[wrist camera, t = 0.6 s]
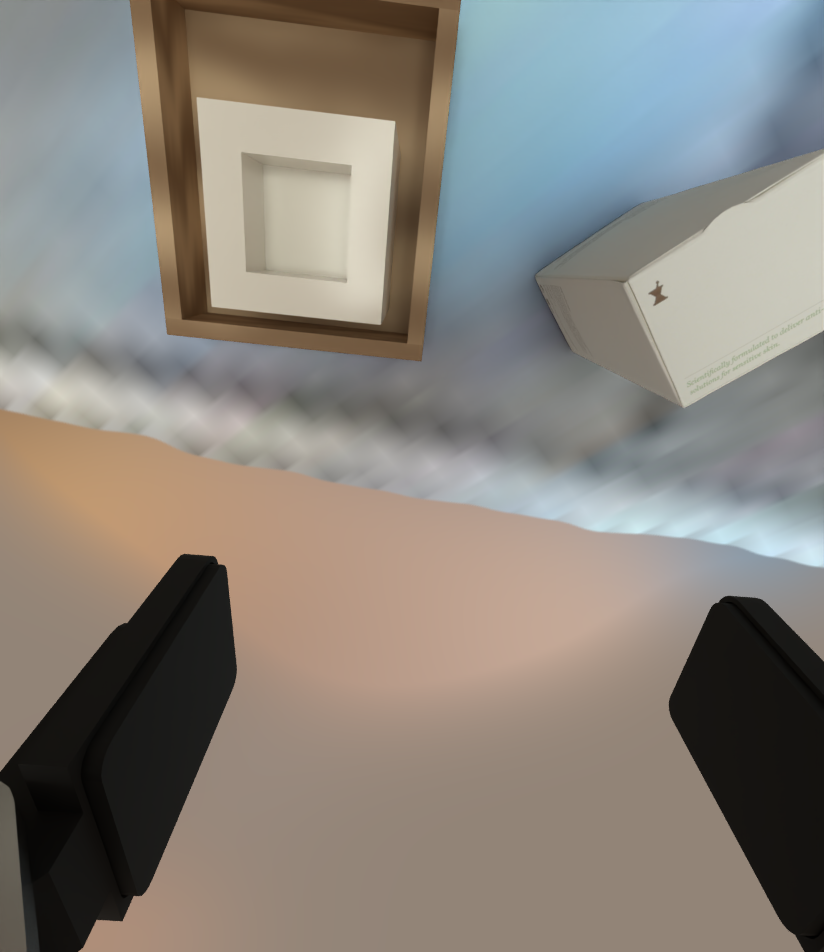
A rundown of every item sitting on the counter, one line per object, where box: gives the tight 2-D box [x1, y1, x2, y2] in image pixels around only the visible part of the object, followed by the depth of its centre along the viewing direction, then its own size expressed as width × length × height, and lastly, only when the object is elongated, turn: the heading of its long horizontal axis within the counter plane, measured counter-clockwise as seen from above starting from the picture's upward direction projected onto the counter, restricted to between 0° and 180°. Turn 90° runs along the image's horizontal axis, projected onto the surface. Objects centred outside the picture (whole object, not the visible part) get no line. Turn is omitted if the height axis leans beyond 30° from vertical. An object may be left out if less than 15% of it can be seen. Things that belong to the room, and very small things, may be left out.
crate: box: [130, 0, 461, 361], centre depth 28 cm, size 18×16×5 cm
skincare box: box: [535, 149, 824, 408], centre depth 25 cm, size 8×7×16 cm
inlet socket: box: [197, 97, 401, 325], centre depth 27 cm, size 9×9×8 cm
